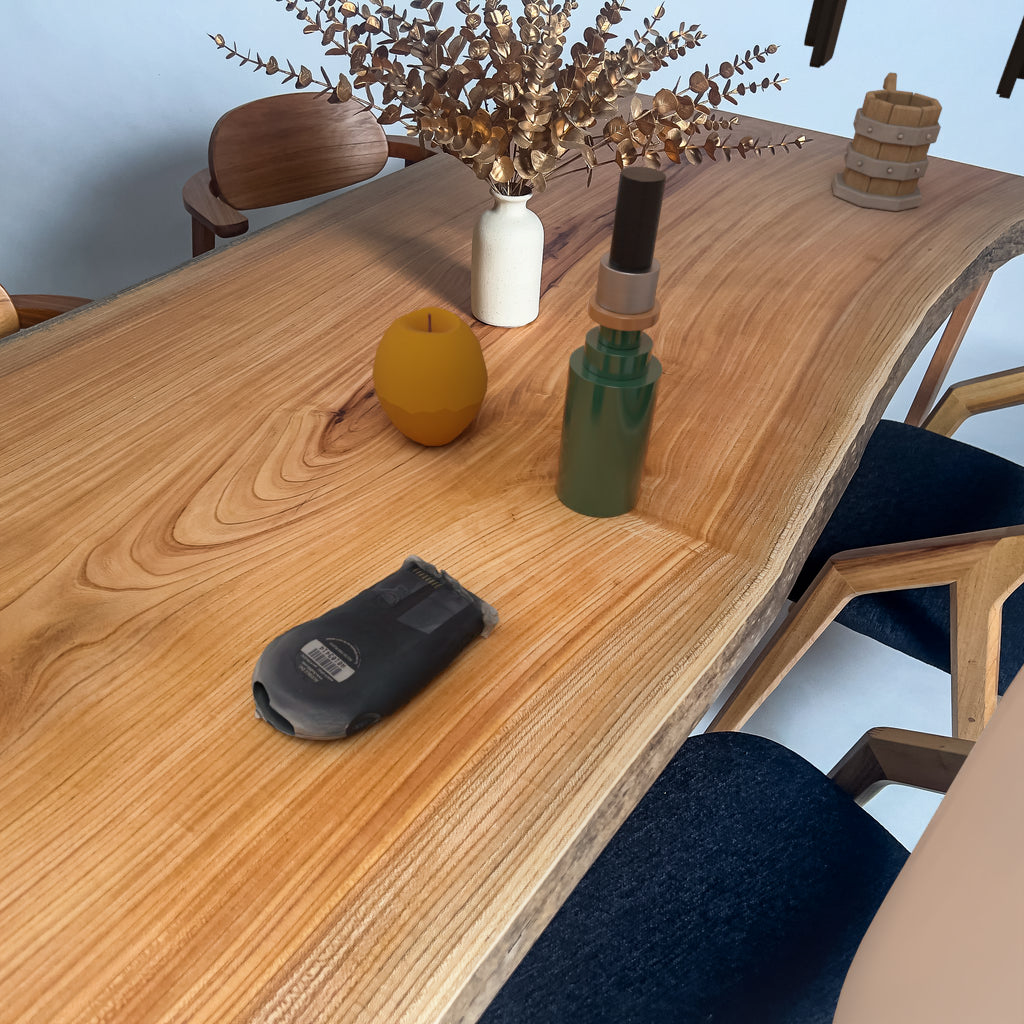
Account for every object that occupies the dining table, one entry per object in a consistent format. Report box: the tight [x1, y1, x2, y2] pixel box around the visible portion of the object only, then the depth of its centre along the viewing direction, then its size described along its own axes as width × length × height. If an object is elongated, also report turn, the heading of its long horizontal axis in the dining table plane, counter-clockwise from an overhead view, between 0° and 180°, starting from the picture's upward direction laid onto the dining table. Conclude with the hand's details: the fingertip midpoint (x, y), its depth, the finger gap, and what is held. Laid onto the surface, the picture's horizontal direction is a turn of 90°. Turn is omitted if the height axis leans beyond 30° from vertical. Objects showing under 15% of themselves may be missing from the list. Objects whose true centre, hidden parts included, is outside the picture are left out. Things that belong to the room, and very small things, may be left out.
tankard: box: [831, 71, 943, 212], centre depth 137 cm, size 20×13×15 cm, turn 167°
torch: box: [595, 166, 667, 314], centre depth 62 cm, size 4×4×9 cm
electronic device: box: [251, 554, 500, 741], centre depth 58 cm, size 9×6×15 cm
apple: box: [371, 306, 489, 447], centre depth 77 cm, size 10×10×12 cm
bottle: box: [554, 290, 663, 518], centre depth 70 cm, size 7×7×17 cm
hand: (909, 77), depth 49 cm, fingers open, 9 cm apart
